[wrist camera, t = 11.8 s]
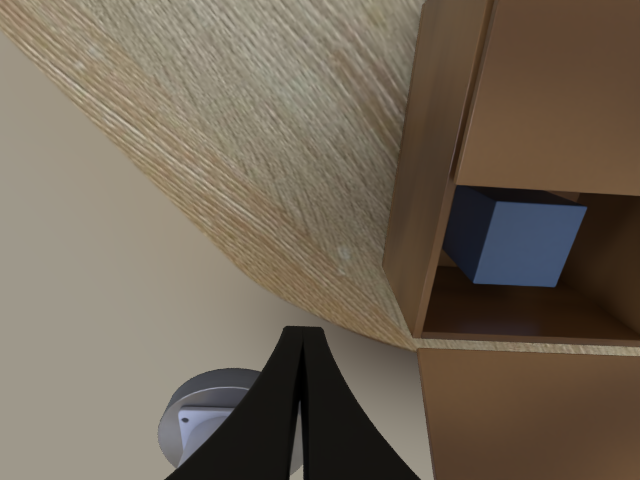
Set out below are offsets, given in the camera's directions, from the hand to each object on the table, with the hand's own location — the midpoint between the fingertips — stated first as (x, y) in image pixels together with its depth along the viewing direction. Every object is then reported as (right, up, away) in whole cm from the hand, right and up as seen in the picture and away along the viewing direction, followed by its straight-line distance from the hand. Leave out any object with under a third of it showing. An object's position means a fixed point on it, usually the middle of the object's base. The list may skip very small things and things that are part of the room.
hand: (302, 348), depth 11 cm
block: (+11, +5, +9) cm, 15 cm away
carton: (+11, +9, +8) cm, 16 cm away
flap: (+11, -4, +1) cm, 12 cm away
